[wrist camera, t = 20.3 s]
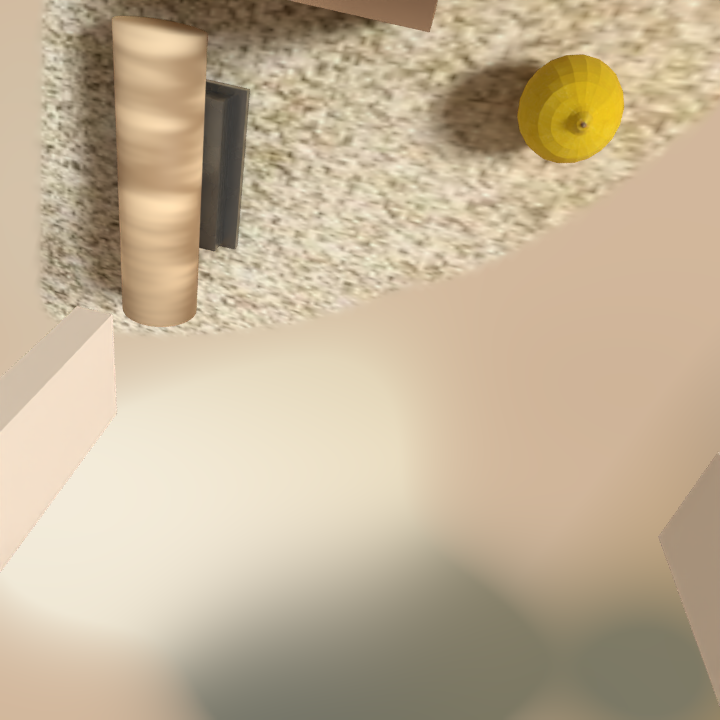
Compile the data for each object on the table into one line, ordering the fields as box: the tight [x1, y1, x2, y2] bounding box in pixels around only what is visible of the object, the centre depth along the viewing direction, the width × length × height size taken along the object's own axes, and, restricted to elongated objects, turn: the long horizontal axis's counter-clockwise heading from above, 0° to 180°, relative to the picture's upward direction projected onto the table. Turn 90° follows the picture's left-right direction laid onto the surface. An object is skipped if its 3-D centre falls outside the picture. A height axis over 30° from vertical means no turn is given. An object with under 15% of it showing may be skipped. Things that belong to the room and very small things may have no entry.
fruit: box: [517, 55, 624, 163], centre depth 34 cm, size 6×6×8 cm
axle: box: [112, 16, 208, 327], centre depth 39 cm, size 18×5×5 cm, turn 169°
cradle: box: [199, 79, 250, 251], centre depth 41 cm, size 11×8×3 cm
